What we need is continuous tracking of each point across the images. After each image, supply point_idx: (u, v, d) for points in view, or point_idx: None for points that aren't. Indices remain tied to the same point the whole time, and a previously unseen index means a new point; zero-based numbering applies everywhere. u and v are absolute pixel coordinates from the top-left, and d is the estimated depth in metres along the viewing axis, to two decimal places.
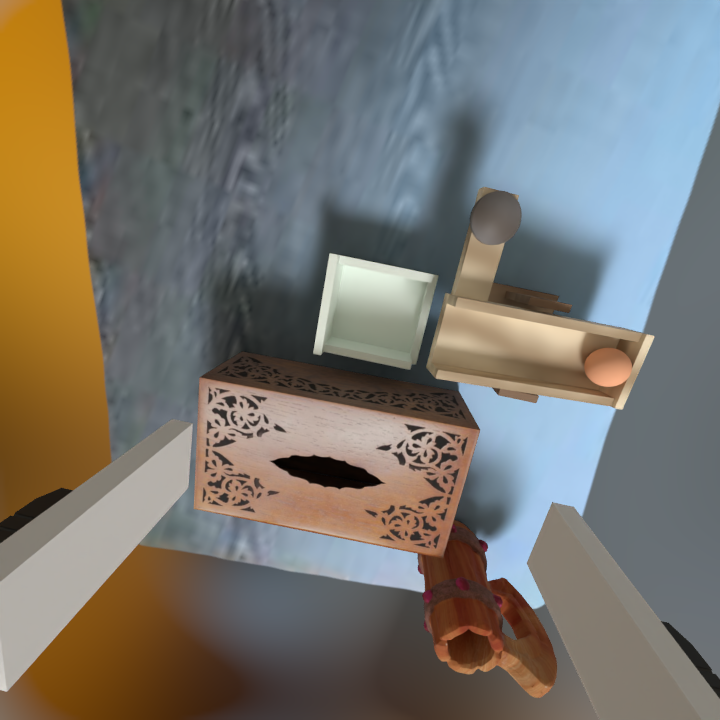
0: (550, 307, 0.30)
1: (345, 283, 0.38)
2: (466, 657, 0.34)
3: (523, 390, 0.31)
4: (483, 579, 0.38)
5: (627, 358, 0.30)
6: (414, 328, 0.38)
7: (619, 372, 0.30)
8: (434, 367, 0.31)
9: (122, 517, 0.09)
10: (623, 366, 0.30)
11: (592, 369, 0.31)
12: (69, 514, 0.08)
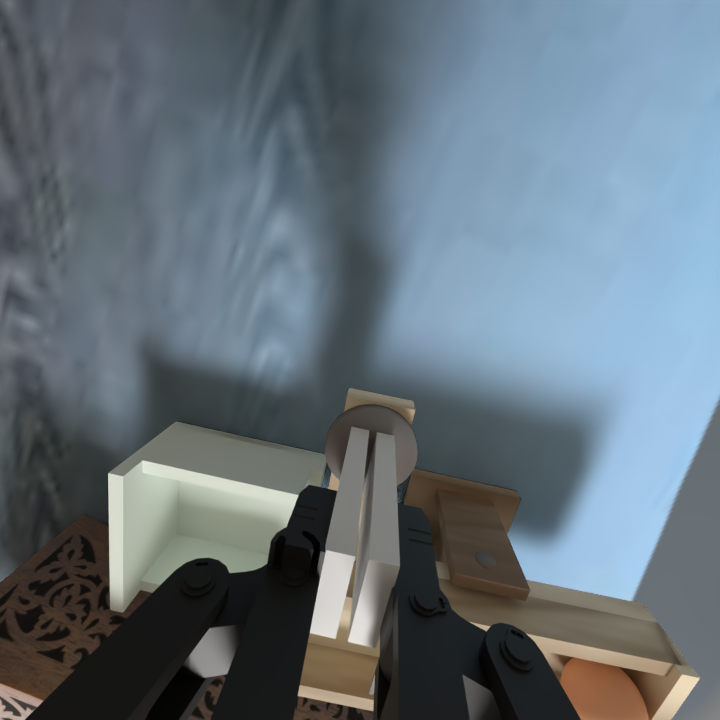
0: (491, 590, 0.17)
1: None
2: None
3: None
4: None
5: (638, 715, 0.15)
6: None
7: None
8: None
9: None
10: None
11: None
12: (352, 504, 0.10)
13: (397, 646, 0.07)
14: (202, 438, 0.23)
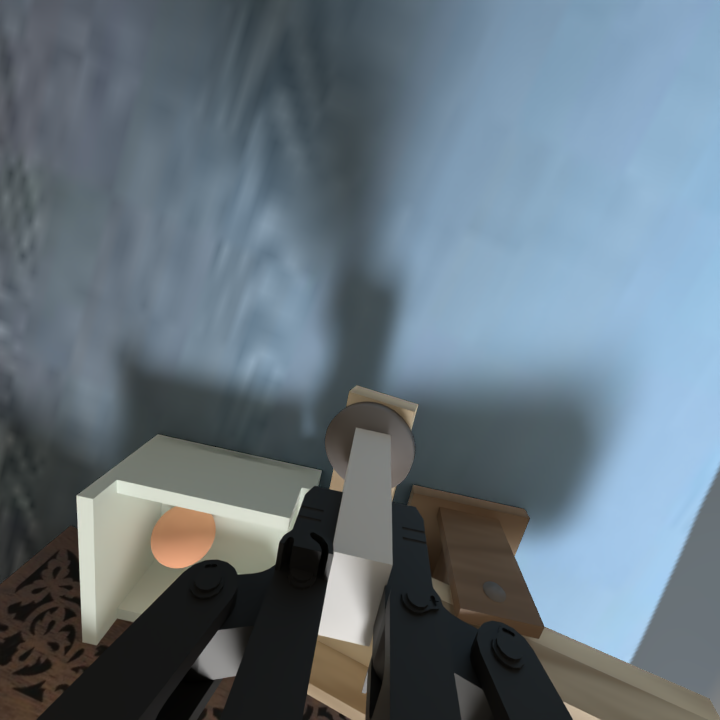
0: None
1: None
2: None
3: None
4: None
5: (165, 513, 0.21)
6: None
7: None
8: None
9: None
10: None
11: None
12: (359, 506, 0.10)
13: (389, 645, 0.07)
14: (185, 453, 0.21)
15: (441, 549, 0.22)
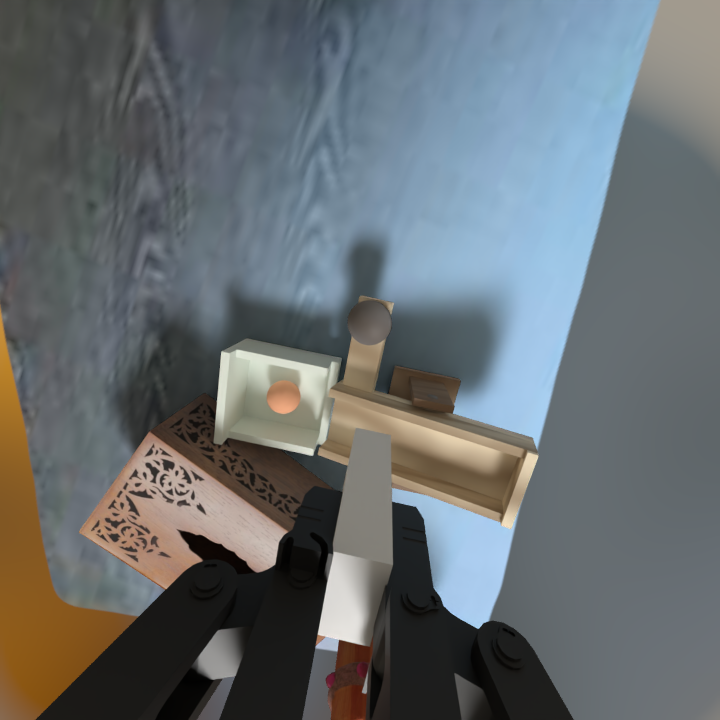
0: (434, 408, 0.31)
1: (253, 366, 0.38)
2: None
3: (399, 483, 0.32)
4: None
5: (278, 388, 0.36)
6: (323, 408, 0.39)
7: (267, 397, 0.36)
8: (323, 444, 0.35)
9: None
10: (269, 393, 0.36)
11: None
12: (358, 506, 0.10)
13: (389, 645, 0.07)
14: (265, 345, 0.37)
15: None
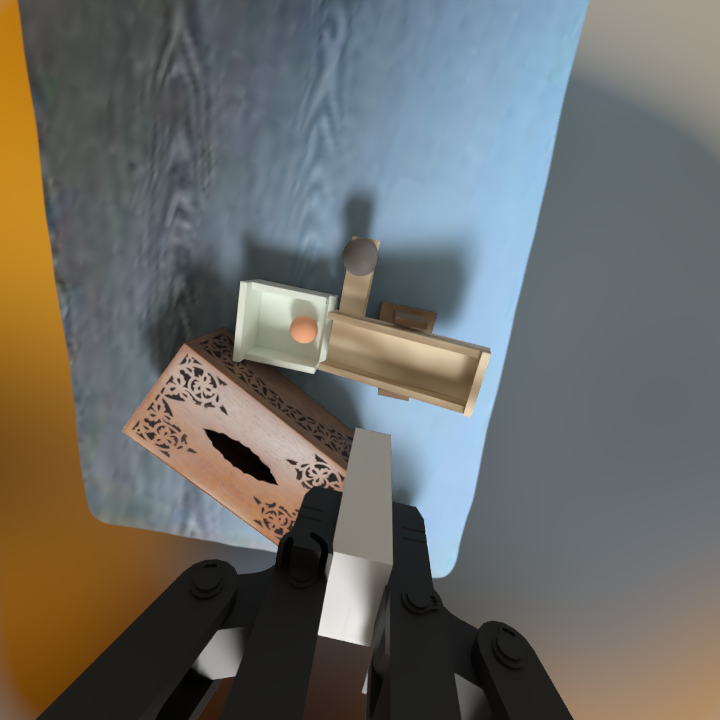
0: (411, 325, 0.38)
1: (264, 302, 0.46)
2: None
3: (383, 387, 0.40)
4: None
5: (309, 322, 0.43)
6: (323, 339, 0.46)
7: (302, 332, 0.43)
8: (322, 362, 0.42)
9: None
10: (304, 327, 0.43)
11: (290, 331, 0.44)
12: (358, 506, 0.10)
13: (389, 645, 0.07)
14: (275, 283, 0.44)
15: None
